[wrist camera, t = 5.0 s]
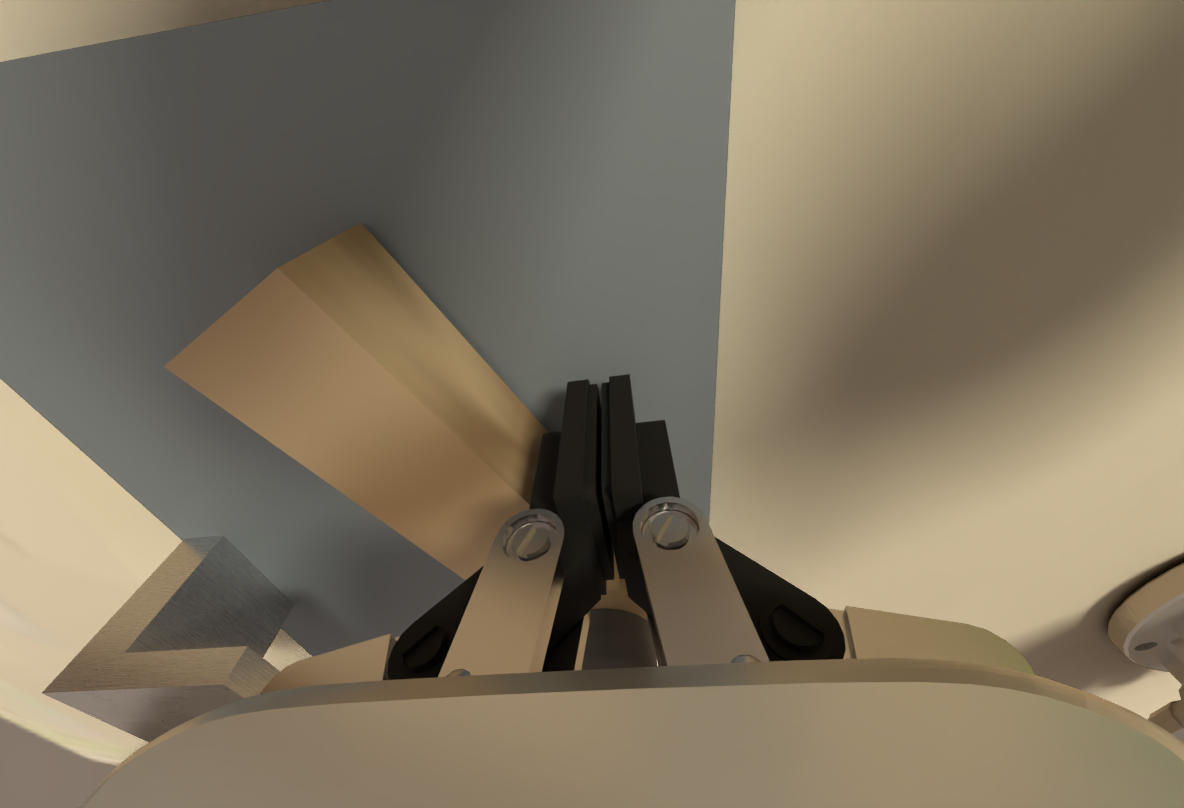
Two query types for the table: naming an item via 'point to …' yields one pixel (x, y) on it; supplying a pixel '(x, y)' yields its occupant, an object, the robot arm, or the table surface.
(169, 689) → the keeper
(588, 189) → the board
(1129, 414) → the table surface
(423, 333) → the link
